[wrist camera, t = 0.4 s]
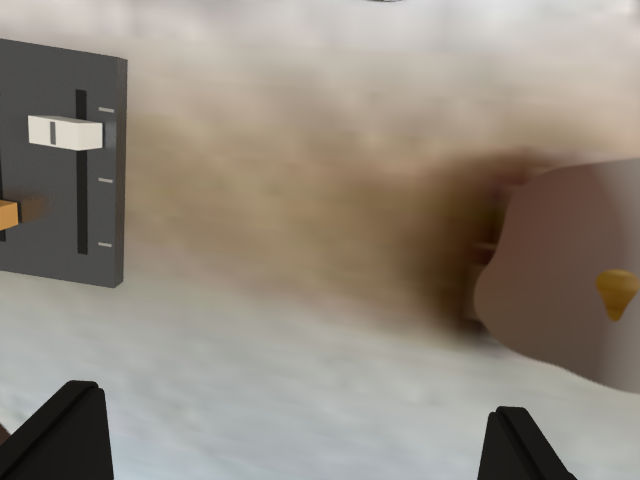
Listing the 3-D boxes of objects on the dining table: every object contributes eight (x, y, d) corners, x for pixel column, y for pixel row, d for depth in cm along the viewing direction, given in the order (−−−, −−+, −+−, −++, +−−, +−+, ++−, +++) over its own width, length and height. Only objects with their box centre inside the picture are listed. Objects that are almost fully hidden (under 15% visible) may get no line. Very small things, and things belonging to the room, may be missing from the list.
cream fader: (57, 115, 41) (27, 115, 37) (102, 123, 41) (77, 123, 37) (57, 140, 42) (28, 142, 38) (102, 147, 42) (77, 150, 38)
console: (-32, 34, 41) (-51, 30, 39) (127, 60, 41) (116, 56, 39) (-14, 259, 48) (-30, 266, 46) (123, 281, 48) (113, 288, 46)
